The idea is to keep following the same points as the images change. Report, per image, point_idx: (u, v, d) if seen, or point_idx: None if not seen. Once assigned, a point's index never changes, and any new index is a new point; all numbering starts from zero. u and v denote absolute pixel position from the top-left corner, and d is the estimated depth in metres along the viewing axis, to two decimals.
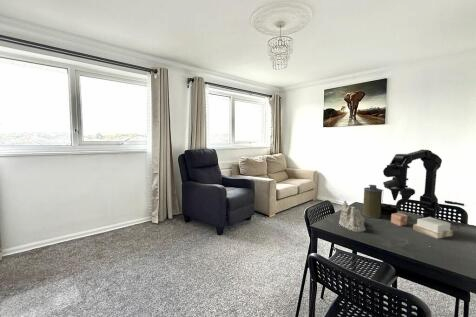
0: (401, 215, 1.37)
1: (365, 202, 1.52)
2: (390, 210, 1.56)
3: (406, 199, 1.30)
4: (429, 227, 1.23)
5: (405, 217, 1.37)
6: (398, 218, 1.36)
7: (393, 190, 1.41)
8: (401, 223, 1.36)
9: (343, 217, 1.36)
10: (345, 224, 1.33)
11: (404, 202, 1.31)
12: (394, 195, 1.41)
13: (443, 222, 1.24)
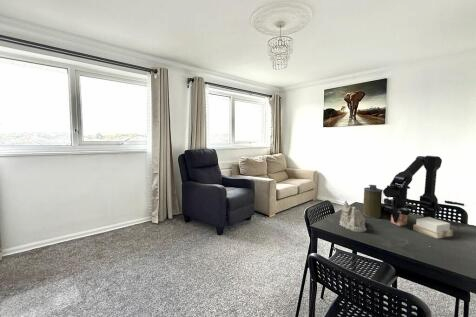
0: (401, 215, 1.37)
1: (365, 202, 1.52)
2: None
3: (395, 217, 1.37)
4: (428, 227, 1.23)
5: (405, 217, 1.37)
6: (398, 218, 1.36)
7: (402, 211, 1.40)
8: (401, 223, 1.36)
9: (344, 217, 1.35)
10: (346, 225, 1.32)
11: (394, 220, 1.38)
12: None
13: (442, 222, 1.24)
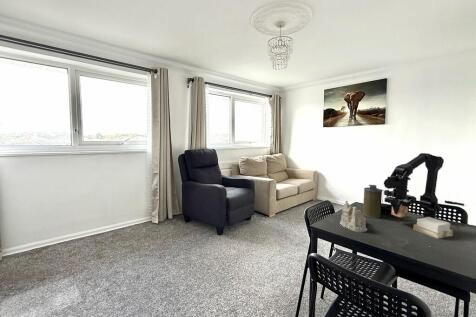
0: (402, 206, 1.37)
1: (365, 202, 1.52)
2: (390, 210, 1.56)
3: (395, 208, 1.36)
4: (429, 227, 1.23)
5: (406, 208, 1.36)
6: (399, 209, 1.36)
7: (402, 202, 1.40)
8: (402, 214, 1.35)
9: (344, 217, 1.35)
10: (347, 225, 1.32)
11: (395, 211, 1.37)
12: None
13: (443, 222, 1.24)
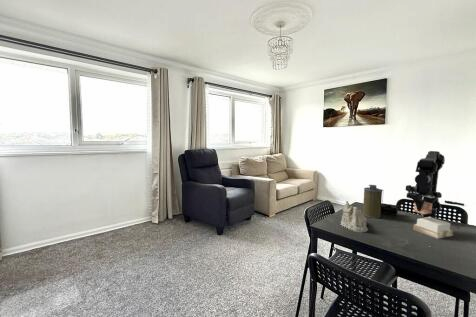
0: (425, 203, 1.28)
1: (365, 202, 1.52)
2: (390, 210, 1.56)
3: (419, 205, 1.27)
4: (429, 227, 1.23)
5: (430, 205, 1.27)
6: None
7: (426, 199, 1.30)
8: (425, 211, 1.26)
9: (345, 217, 1.35)
10: (347, 225, 1.32)
11: (418, 208, 1.28)
12: None
13: (443, 222, 1.24)
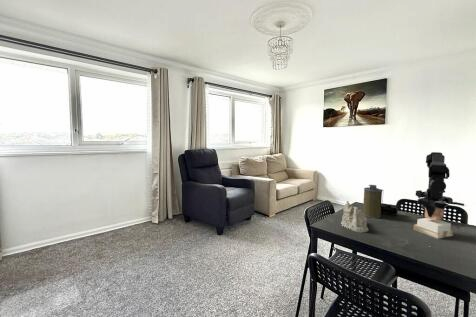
0: (437, 209, 1.24)
1: (365, 202, 1.52)
2: (390, 210, 1.56)
3: (430, 211, 1.23)
4: (429, 227, 1.23)
5: (441, 211, 1.23)
6: (434, 212, 1.23)
7: (437, 204, 1.27)
8: (437, 217, 1.23)
9: (346, 217, 1.35)
10: (348, 225, 1.32)
11: (429, 214, 1.24)
12: None
13: (443, 222, 1.24)
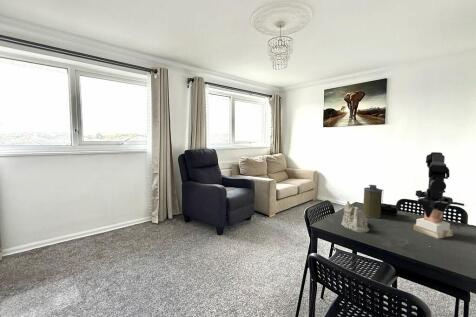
0: (436, 211, 1.25)
1: (365, 202, 1.52)
2: (390, 210, 1.56)
3: (428, 211, 1.23)
4: (428, 227, 1.23)
5: (441, 213, 1.24)
6: (433, 214, 1.23)
7: (439, 204, 1.27)
8: (436, 220, 1.23)
9: (346, 218, 1.35)
10: (348, 225, 1.32)
11: (427, 214, 1.24)
12: (439, 210, 1.27)
13: (442, 222, 1.24)
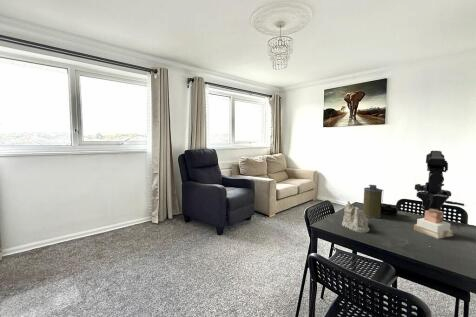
0: (436, 211, 1.24)
1: (365, 202, 1.52)
2: (390, 210, 1.56)
3: (427, 204, 1.24)
4: (429, 227, 1.23)
5: (441, 213, 1.23)
6: (433, 214, 1.23)
7: (438, 197, 1.29)
8: (437, 220, 1.23)
9: (347, 218, 1.35)
10: (349, 225, 1.32)
11: (426, 207, 1.25)
12: (438, 203, 1.28)
13: (443, 222, 1.24)
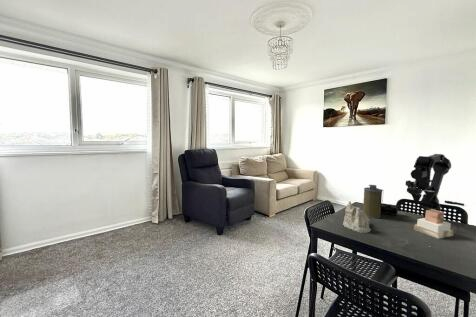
0: (437, 212, 1.24)
1: (365, 202, 1.52)
2: (390, 210, 1.56)
3: (416, 199, 1.35)
4: (429, 227, 1.23)
5: (442, 214, 1.23)
6: (434, 215, 1.23)
7: (426, 193, 1.40)
8: (438, 220, 1.23)
9: (348, 218, 1.34)
10: (350, 225, 1.31)
11: (415, 202, 1.36)
12: (427, 198, 1.39)
13: (443, 222, 1.24)
